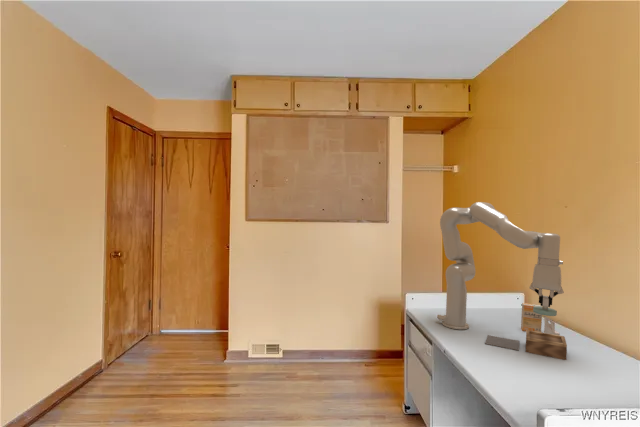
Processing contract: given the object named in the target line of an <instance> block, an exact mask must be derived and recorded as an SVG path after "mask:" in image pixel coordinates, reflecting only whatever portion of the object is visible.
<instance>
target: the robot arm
mask: <svg viewBox="0 0 640 427" xmlns="http://www.w3.org/2000/svg"><path fill="white" fill-rule="evenodd" d="M478 222H479V223H481V224H484V225H485V226H487V227H488V228H490V229H492V230H493V231H495V232H496V233H497V234H498V236H500V237H502V239H504V240H505V241H507V242H509V243H510V244H511V245H514V246H515V247H517V248H519V249H523V250H526V249H537V263H536V264H534V268H533V274H532V281H531V284H530V285H529V290H532V291H533V292H535V294H536V295H538V304H539V305H541V306H543V296H544V295H543V290H547V291H549V295H548V298H549V306H548V308H551V306H552V305H553V298H554V297H556V296H557V295H562V294H564V289H563V287H562V269H561V266H560V265H564V261H562V260H560V249H561V236H560V235H559V234H558V233H552V232H538V231H534V230H533V231H532V230H531V231H530V230H524V229H522V228H520V227H518V226H516V225H515V224H513V223H512V222H511V221H510V220H509V218H508V216H507V215H506V214H505V213H503V212H500V211H499V210H497V209H496V208H495V207H494V205H493V204H491V202H484V201H476V202H474V203H473V204H471V206H469V207H454V206H453V207H450V208H448V209H446V210H445V211H444V212H442V214H441V216H440V220H439V226H440V230H441V231H440V232H441V235H442V241H443V243H442V244H443V249H444V254H445V257H446V259H448V260H449V261H451V262H452V261H453V262H455V263H452V264H449V266H447V268H446V270H445V280H446V300H445V301H446V304H445V314H444V315H441V314H437V315H436V318H437V319H438V320H441V321H442V322H441V323H442V325H443V326H444V327H446V328H448V329H453V330H458V331H459V330H468V329H469V328H470V324H468V323H467V298H468V297H467V295H468V294H467V293H468V292H467V290H468V289H467V284H466V282H468V281H471V280H473V279H474V278H475V276H476V265H475V260H474V254H473V250H472V248H471V246H470V245H469V243H466V242H464V241H462V239H461V235H460V234H461V233H460V231H459V229H458V227H457V225H469V224H474V223H478Z"/></svg>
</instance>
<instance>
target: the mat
mask: <svg viewBox="0 0 640 427" xmlns="http://www.w3.org/2000/svg"><path fill="white" fill-rule="evenodd" d="M484 345H486V346H493V347H498V348H502V349H508V350H512V351H518V352H519V351H520V340H516V339H510V338H506V337H501V336H496V335H490V334H487V337H486V339H485V342H484Z"/></svg>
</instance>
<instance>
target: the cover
mask: <svg viewBox="0 0 640 427" xmlns="http://www.w3.org/2000/svg"><path fill="white" fill-rule="evenodd" d="M548 297H549V295H543V306H542V307H539V306H535V307H533V312H535V313H537V314H541V315H542V316H545V317H556V316H558V314H557V313H558V312H557V310H556V309H553V308H551V307H548V306H549V298H548Z"/></svg>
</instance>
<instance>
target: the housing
mask: <svg viewBox="0 0 640 427" xmlns="http://www.w3.org/2000/svg"><path fill="white" fill-rule="evenodd" d="M525 336H526V337H525V353H529V354H535V355H540V356H545V357H549V358H554V359H560V360H564V361H566V360H567V354H568V353H567V352H568V349H567V348H568V344H567V340H566V337H565V336H563V335H560V336H559V335H553V334H547V333H544V332H542V331H541V332H536V331H530V330H526V331H525Z"/></svg>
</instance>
